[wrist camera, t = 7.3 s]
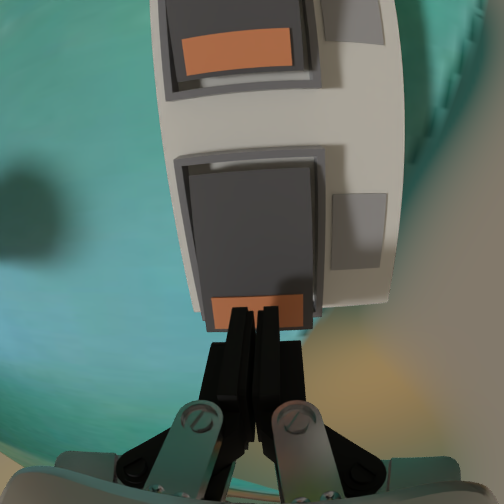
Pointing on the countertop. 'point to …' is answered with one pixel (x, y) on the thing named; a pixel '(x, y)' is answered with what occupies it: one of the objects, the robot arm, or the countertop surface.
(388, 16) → the power strip
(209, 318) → the rocker
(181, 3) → the rocker middle
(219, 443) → the robot arm
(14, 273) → the countertop surface
